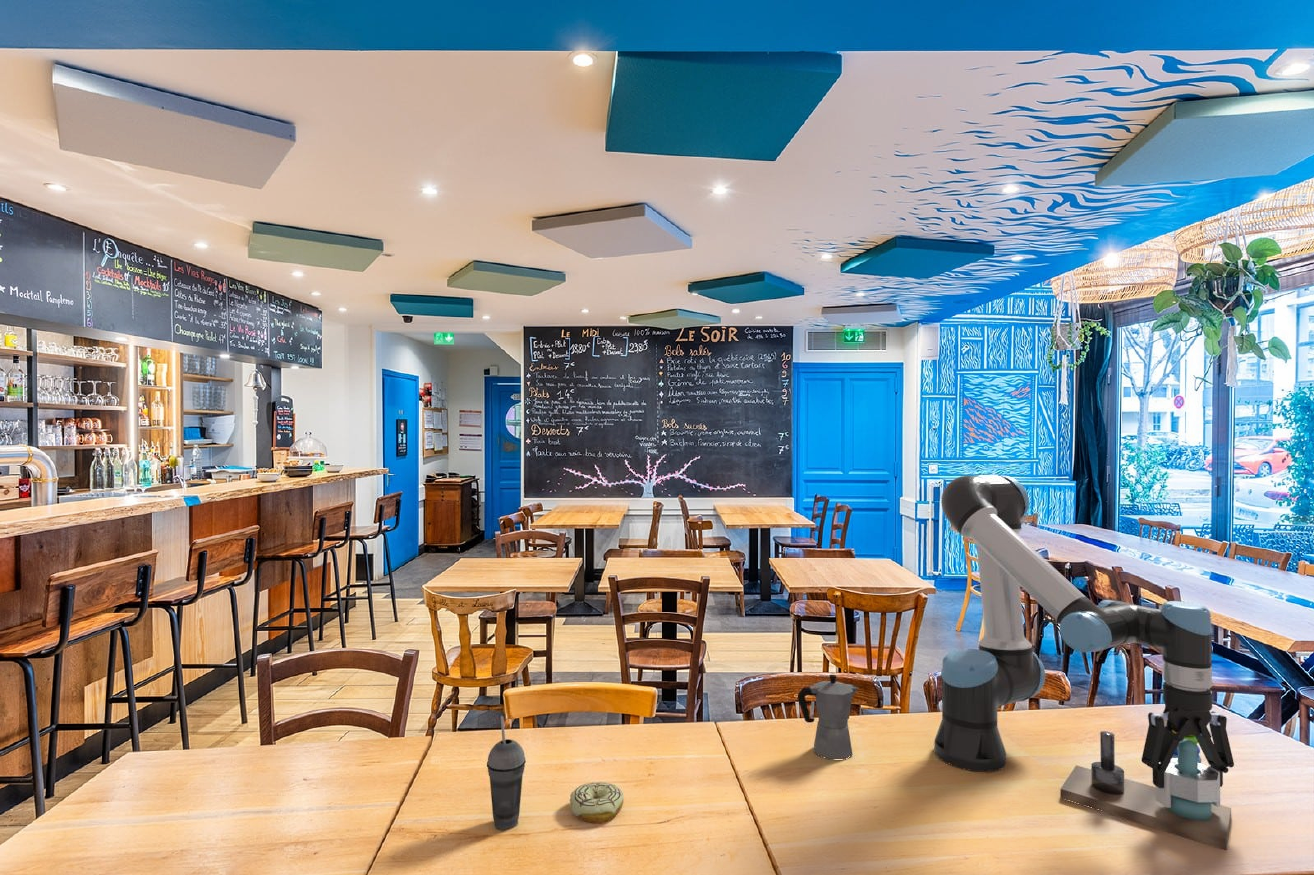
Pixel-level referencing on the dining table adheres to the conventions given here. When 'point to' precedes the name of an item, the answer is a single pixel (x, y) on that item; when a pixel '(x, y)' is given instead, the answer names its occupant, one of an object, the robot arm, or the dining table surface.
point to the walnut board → (1146, 809)
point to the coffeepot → (830, 717)
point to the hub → (1190, 765)
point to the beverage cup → (506, 781)
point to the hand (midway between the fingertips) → (1187, 803)
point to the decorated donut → (596, 802)
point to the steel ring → (1194, 783)
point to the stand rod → (1107, 768)
